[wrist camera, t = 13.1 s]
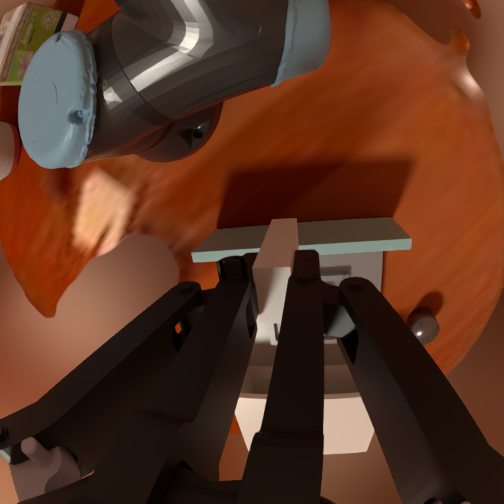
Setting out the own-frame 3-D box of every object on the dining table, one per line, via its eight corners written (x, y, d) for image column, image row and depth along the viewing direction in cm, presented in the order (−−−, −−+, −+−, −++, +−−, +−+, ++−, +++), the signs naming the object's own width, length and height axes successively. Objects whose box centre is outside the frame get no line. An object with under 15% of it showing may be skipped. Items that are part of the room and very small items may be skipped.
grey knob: (408, 309, 38) (414, 321, 35) (435, 306, 37) (442, 318, 34) (404, 333, 40) (409, 346, 37) (429, 330, 39) (435, 342, 36)
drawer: (214, 229, 39) (191, 252, 31) (390, 217, 34) (411, 238, 26) (241, 357, 48) (229, 392, 40) (378, 353, 42) (386, 390, 34)
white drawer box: (243, 355, 48) (229, 396, 39) (377, 351, 43) (386, 394, 33) (257, 416, 55) (248, 451, 46) (363, 414, 50) (366, 451, 40)
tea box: (58, 84, 35) (-3, 84, 21) (33, 85, 35) (-21, 87, 22) (81, 15, 28) (26, 0, 15) (53, 22, 29) (2, 14, 16)
